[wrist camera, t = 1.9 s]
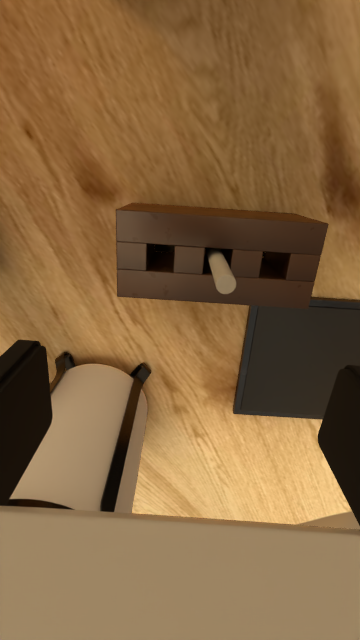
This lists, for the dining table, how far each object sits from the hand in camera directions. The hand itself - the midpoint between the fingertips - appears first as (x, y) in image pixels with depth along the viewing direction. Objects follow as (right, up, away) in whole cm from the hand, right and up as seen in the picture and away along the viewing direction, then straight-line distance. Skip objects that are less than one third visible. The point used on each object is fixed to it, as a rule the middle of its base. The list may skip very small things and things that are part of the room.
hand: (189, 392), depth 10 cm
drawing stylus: (+3, +10, +23) cm, 25 cm away
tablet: (+18, -3, +28) cm, 33 cm away
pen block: (+3, +10, +23) cm, 25 cm away
